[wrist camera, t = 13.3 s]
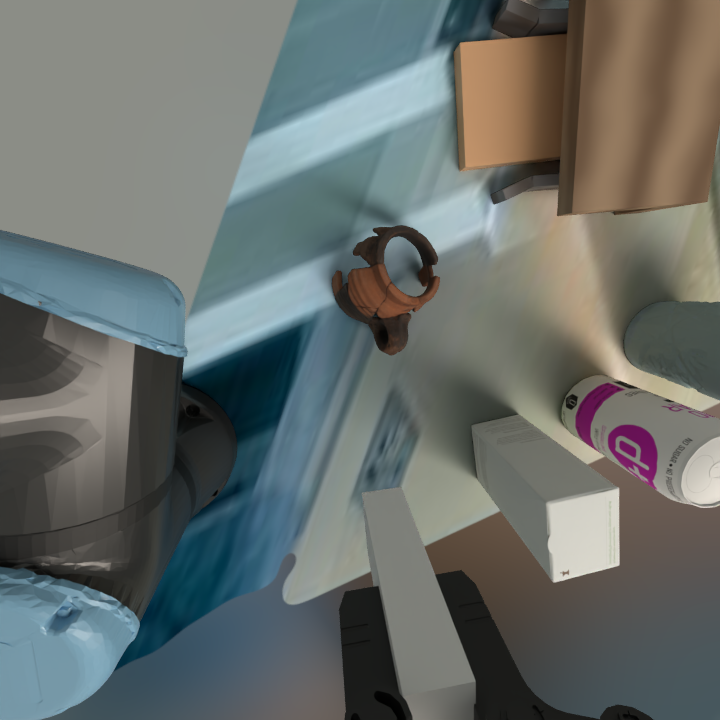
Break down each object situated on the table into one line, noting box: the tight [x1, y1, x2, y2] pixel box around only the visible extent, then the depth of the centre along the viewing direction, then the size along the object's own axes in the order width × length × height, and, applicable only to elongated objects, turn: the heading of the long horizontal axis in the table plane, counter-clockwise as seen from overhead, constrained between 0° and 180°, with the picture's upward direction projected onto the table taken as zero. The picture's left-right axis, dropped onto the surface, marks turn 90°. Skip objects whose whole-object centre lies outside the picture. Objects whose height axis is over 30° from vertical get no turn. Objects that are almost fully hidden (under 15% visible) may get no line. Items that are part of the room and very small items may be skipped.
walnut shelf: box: [491, 0, 720, 216], centre depth 32 cm, size 17×20×7 cm
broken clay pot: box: [332, 225, 440, 355], centre depth 35 cm, size 12×10×8 cm
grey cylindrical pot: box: [623, 301, 720, 400], centre depth 37 cm, size 10×10×12 cm
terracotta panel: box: [454, 34, 567, 171], centre depth 35 cm, size 16×10×2 cm, turn 97°
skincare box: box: [471, 415, 619, 582], centre depth 37 cm, size 8×7×16 cm
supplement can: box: [562, 375, 720, 508], centre depth 37 cm, size 8×8×15 cm
